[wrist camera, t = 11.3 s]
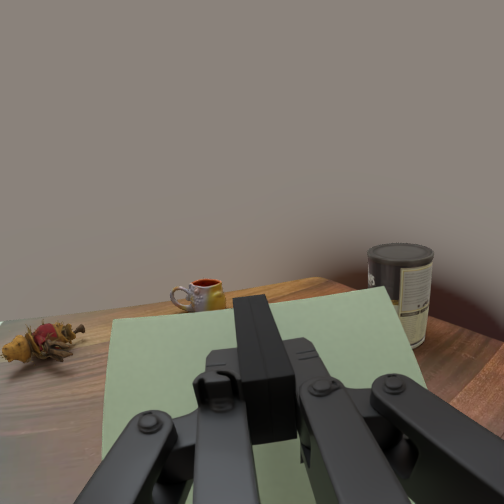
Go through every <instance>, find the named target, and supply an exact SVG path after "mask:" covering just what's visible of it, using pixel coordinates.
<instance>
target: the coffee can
mask: <svg viewBox="0 0 504 504" xmlns="http://www.w3.org/2000/svg"><path fill="white" fill-rule="evenodd" d="M367 255H368V289H369V288H375V287H381V286H384V287H385V289H386V291H387V293H388V295H389V297H390V299H391V302H392V304H393V306H394V308H395V311H396V313H397V315H398V317H399V320H400V322H401V324H402V326H403V329H404V331H405V334H406V336H407V338H408V341H409V343H410V346H411V348H412V349H413V348H416V347H418V346H419V345H420V344H422V343H423V341H424V340H425V332H426V325H427V317H428V309H429V299H430V298H429V297H430V289H431V276H432V260H433V256H434V252H433V251H432V249H430V248H427V247H425V246H422V245H417V244H408V243H391V244H382V245H378V246H374V247H372V248H370V249H369V250H368V252H367Z"/></svg>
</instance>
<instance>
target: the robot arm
mask: <svg viewBox="0 0 504 504" xmlns="http://www.w3.org/2000/svg"><path fill="white" fill-rule="evenodd" d="M233 309H234V320H235V330H236V340H237V347H236V348H228V349H218V350H212V351H211V352H210V353H209V354H208V356H207V357H206V364H205V372H203V373H201V374H199V375H198V376H197V377H196V378H195V379H194V381H193V383H192V385H193V389H194V393H195V396H196V400H197V404H198V408H197V409H196V410H194V411H193V412H191V413H189V414H186V415H184V416H180V417H176V418H173V419H172V417H171V416H170V415H169V414H168V413H166V412H164V411H160V410H148V411H144V412H141V413H139V414H137V415H135V416H134V417H133V418H132V419H131V420H130V421H129V422H128V424H127V425H126V427H125V428H124V430H123V431H122V433H121V434H120V435H119V437H118V438H117V440H116V441H115V443H114V444H113V446H112V447H111V449H110V450H109V452H108V453H107V455H106V456H105V458H104V459H103V460H102V462H101V463H100V465H99V466H98V468H97V469H96V471H95V472H94V474H93V475H92V477H91V478H90V480H89V481H88V483H87V484H86V486H85V487H84V488H83V490H82V491H81V493H80V494H79V496H78V497H77V499H76V500H75V502H74V503H73V504H185V502H186V500H187V497H188V495H189V492H190V489H191V487H192V484H193V503H192V504H261V501H260V495H259V488H258V481H257V475H256V468H255V461H254V455H253V449H252V445H260V444H267V443H274V442H280V441H286V440H292V439H297V431H298V434H299V438H300V464H302V463H304V464H305V468H306V471H307V474H308V478H309V481H310V484H311V488H312V491H313V494H314V498H315V501H316V504H412V503H411V501H410V499H411V500H412V501H413V502H414V503H415V504H504V440H503V439H501V438H500V437H498V436H497V435H495V434H493V433H492V432H490V431H489V430H487V429H486V428H484V427H483V426H481V425H480V424H478V423H477V422H475V421H474V420H472V419H471V418H469V417H468V416H466V415H465V414H463V413H462V412H460V411H459V410H457V409H456V408H454V407H453V406H451V405H450V404H448V403H447V402H445V401H444V400H442V399H441V398H439V397H438V396H436V395H435V394H433V393H432V392H430V391H429V390H427V389H426V388H424V387H423V386H421V385H420V384H418V383H417V382H415V381H414V380H412V379H411V378H409V377H407V376H405V375H402V374H397V373H392V374H385V375H382V376H379V377H378V378H376V379H375V380H374V382H373V383H372V386H371V388H361V389H355V388H347V387H345V386H344V384H343V383H342V382H341V381H340V380H338V379H336V378H334V377H331V376H330V374H329V372H328V370H327V368H326V367H325V365H324V363H323V361H322V359H321V358H320V357H319V354H318V352H317V351H316V349H315V347H314V345H313V343H312V342H311V341H309V340H307V339H306V338H304V337H300V338H294V339H288V340H282V338H281V335H280V333H279V330H278V328H277V325H276V322H275V320H274V317H273V314H272V312H271V309H270V307H269V304H268V301H267V299H266V296H265V294H262V295H254V296H246V297H238V298H233ZM408 497H409V498H410V499H409V498H408Z"/></svg>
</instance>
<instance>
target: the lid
mask: <svg viewBox="0 0 504 504" xmlns="http://www.w3.org/2000/svg"><path fill="white" fill-rule="evenodd" d="M269 307H270V309H271V312H272V314H273V317H274V320H275V322H276V325H277V328H278V330H279V333H280V335H281V338H282V340H288V339H294V338H300V337H304V338H306V339H307V340H309V341H311V342H312V343H313V345H314V347H315V349H316V351H317V352H318V354H319V357H320V358H321V359H322V361H323V363H324V365H325V367H326V368H327V370H328V372H329V374H330V376H331V377H334V378H336V379H338V380H340V381H341V382H342V383H343V384H344V386H345V387H347V388H355V389H361V388H371V386H372V383H373V382H374V380H375V379H376V378H378V377H379V376H382V375H385V374H392V373H397V374H402V375H405V376H407V377H409V378H411V379H412V380H414V381H415V382H417V383H418V384H420V385H421V386H423V387H424V388H426V389H427V387H426V384H425V381H424V379H423V376H422V373H421V371H420V368H419V366H418V363H417V360H416V358H415V355H414V353H413V350H412V348H411V346H410V343H409V341H408V338H407V336H406V334H405V331H404V329H403V326H402V324H401V322H400V320H399V317H398V315H397V313H396V311H395V308H394V306H393V304H392V302H391V299H390V297H389V295H388V293H387V291H386V289H385V287H384V286H381V287H375V288H369V289H364V290H358V291H352V292H346V293H340V294H333V295H327V296H321V297H314V298H307V299H300V300H294V301H286V302H279V303H272V304H269ZM236 347H237V340H236V330H235V320H234V309H233V308H232V309H223V310H214V311H205V312H195V313H185V314H174V315H163V316H151V317H139V318H125V319H113V324H112V331H111V338H110V346H109V354H108V362H107V372H106V382H105V394H104V409H103V429H102V460H103V459H104V458H105V456H106V455H107V453H108V452H109V450H110V449H111V447H112V446H113V444H114V443H115V441H116V440H117V438H118V437H119V435H120V434H121V433H122V431H123V430H124V428H125V427H126V425H127V424H128V422H129V421H130V420H131V419H132V418H133V417H134V416H135V415H137V414H139V413H141V412H144V411H148V410H160V411H164V412H166V413H168V414H169V415H170V416H171V417H172V419H173V418H176V417H180V416H184V415H186V414H189V413H191V412H193V411H194V410H196V409H197V408H198V404H197V400H196V396H195V393H194V389H193V385H192V383H193V381H194V379H195V378H196V377H197V376H198V375H199V374H201V373H203V372H205V364H206V357H207V356H208V354H209V353H210V352H211V351H212V350H218V349H228V348H236ZM252 449H253V455H254V461H255V468H256V475H257V481H258V488H259V495H260V501H261V504H316V501H315V498H314V494H313V491H312V488H311V484H310V481H309V478H308V474H307V471H306V468H305V464H304V463H302V464H300V438H299V434H298V431H297V439H292V440H286V441H280V442H274V443H267V444H260V445H252ZM408 498H409V497H408ZM409 499H410V498H409ZM410 501H411V503H412V504H415V503H414V502H413V501H412V500H411V499H410ZM192 503H193V484H192V487H191V489H190V492H189V495H188V497H187V500H186V502H185V504H192Z"/></svg>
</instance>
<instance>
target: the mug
mask: <svg viewBox="0 0 504 504" xmlns="http://www.w3.org/2000/svg"><path fill="white" fill-rule="evenodd" d="M189 289H190V291H189V290H188V289H186V288H184V287H181V286H178V287H175V288H173V289H172V291H171V293H170V298H171V301H172V302H173V304H174V305H175V306H177V307H178V308H180V309H182V310H185V311H190V312H205V311H214V310H223V309H225V307H226V298H225V294H224V292H223V288H222V281H220V280H215V279H199V280H196V281H194V282H191V283H190V284H189ZM176 290H183V291H185V292H186V293H187V294H188V295H187V296H186V300H187V301H191V304H190V305H182V304H180V303H179V302H178V301H176V299H175V298H174V292H175V291H176Z"/></svg>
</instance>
